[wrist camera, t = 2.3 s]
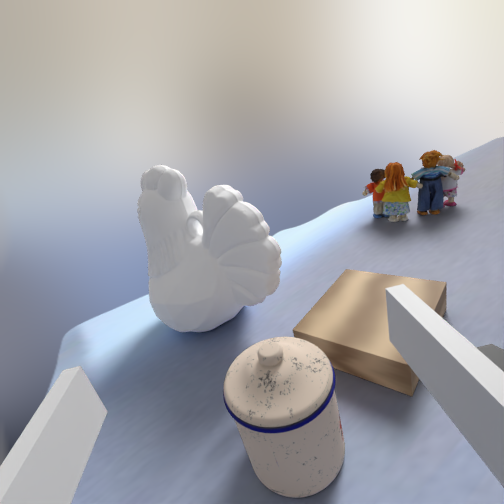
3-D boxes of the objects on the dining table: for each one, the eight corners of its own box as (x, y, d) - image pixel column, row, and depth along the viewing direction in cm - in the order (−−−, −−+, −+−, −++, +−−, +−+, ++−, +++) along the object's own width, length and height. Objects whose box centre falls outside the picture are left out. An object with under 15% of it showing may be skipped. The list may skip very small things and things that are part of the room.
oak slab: (446, 309, 40) (446, 282, 38) (412, 396, 30) (410, 365, 29) (349, 291, 48) (346, 269, 47) (298, 355, 39) (292, 329, 37)
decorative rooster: (149, 320, 55) (87, 183, 45) (220, 279, 63) (180, 154, 53) (228, 394, 36) (149, 184, 26) (316, 321, 44) (281, 139, 34)
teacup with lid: (370, 447, 27) (356, 342, 22) (292, 533, 23) (255, 426, 18) (282, 375, 37) (259, 291, 32) (216, 426, 32) (179, 338, 28)
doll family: (461, 199, 70) (463, 139, 65) (484, 212, 62) (488, 144, 57) (363, 216, 75) (358, 161, 70) (371, 231, 66) (366, 169, 61)
